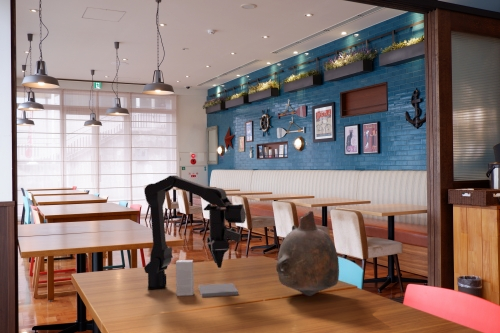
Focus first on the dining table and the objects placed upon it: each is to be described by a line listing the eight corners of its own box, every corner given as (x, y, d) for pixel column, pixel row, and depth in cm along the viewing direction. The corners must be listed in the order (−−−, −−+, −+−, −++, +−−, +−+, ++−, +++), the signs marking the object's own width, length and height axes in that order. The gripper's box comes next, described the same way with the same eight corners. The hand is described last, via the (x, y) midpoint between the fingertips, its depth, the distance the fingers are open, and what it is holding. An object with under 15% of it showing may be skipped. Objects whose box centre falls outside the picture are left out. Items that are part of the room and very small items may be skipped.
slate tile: (201, 297, 173) (201, 293, 173) (198, 288, 186) (198, 285, 186) (238, 294, 176) (238, 291, 176) (232, 286, 188) (232, 283, 188)
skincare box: (193, 292, 180) (193, 259, 180) (193, 295, 175) (192, 261, 175) (177, 293, 179) (176, 260, 179) (176, 296, 175) (175, 262, 175)
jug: (295, 285, 189) (294, 206, 189) (349, 291, 178) (348, 208, 178) (264, 300, 168) (263, 212, 168) (323, 308, 157) (322, 214, 157)
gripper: (243, 224, 173) (244, 269, 173) (234, 219, 192) (235, 259, 191) (211, 225, 171) (212, 270, 171) (206, 220, 189) (206, 261, 189)
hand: (217, 265), depth 181 cm, fingers open, 9 cm apart
